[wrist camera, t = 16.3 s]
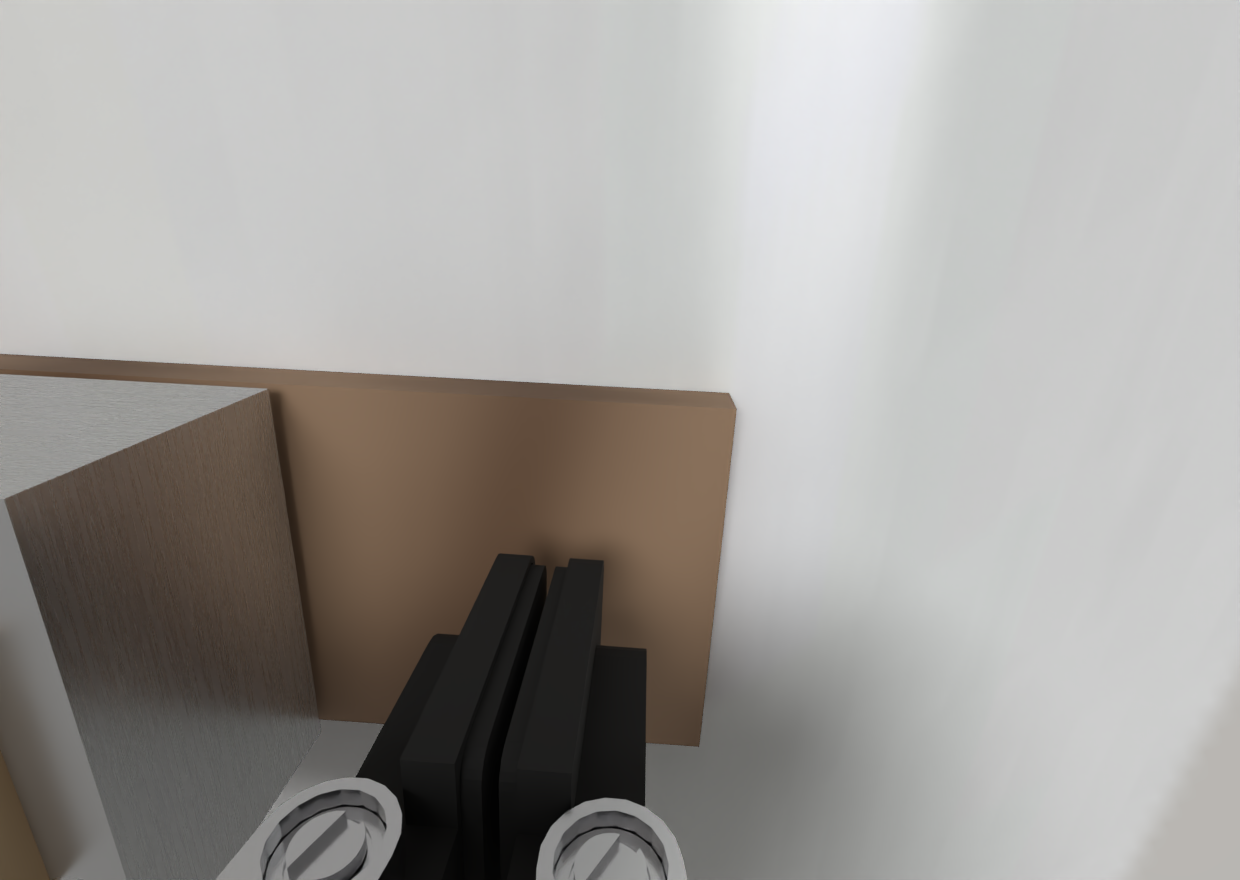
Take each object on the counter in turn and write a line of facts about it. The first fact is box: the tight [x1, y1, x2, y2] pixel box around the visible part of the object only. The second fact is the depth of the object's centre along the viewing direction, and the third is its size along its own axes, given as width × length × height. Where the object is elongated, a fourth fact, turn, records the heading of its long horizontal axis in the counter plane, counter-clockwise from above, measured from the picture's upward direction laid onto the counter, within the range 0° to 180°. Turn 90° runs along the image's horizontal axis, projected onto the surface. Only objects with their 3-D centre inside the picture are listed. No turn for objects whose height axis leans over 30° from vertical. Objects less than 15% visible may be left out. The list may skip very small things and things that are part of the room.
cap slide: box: [0, 374, 321, 880], centre depth 9 cm, size 5×7×4 cm
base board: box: [0, 354, 736, 747], centre depth 12 cm, size 24×7×1 cm, turn 88°
